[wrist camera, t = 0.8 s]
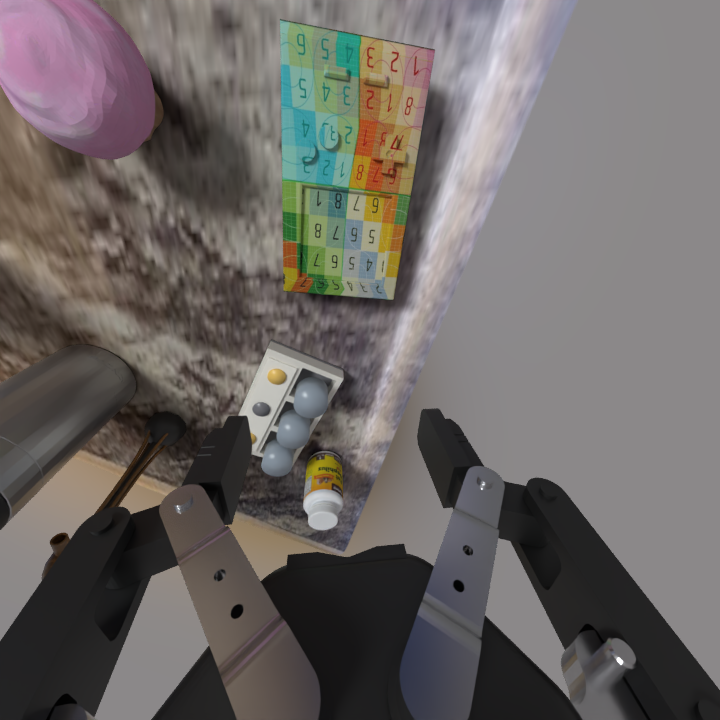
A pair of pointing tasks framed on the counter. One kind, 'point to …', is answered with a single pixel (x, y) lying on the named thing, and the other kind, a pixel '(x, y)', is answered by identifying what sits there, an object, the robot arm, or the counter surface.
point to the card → (267, 397)
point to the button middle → (293, 430)
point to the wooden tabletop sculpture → (158, 433)
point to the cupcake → (77, 76)
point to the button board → (294, 386)
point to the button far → (277, 459)
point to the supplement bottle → (323, 490)
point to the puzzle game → (348, 157)
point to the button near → (311, 397)
